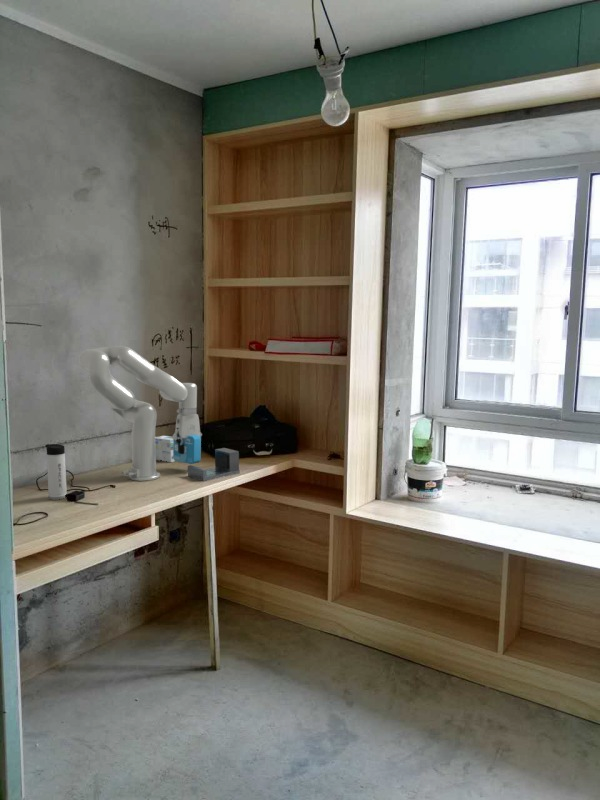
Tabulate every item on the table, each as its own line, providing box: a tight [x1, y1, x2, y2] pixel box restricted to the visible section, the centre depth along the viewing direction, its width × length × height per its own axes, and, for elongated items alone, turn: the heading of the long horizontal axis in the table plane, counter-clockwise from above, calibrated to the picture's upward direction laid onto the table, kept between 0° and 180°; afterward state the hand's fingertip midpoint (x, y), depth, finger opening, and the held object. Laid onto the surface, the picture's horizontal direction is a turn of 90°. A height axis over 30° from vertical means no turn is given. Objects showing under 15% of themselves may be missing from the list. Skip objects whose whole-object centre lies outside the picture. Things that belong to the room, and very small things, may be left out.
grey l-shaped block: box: [187, 447, 241, 482], centre depth 268 cm, size 19×11×10 cm, turn 135°
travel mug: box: [44, 443, 68, 501], centre depth 232 cm, size 6×7×20 cm
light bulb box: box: [155, 435, 176, 463], centre depth 295 cm, size 11×7×11 cm, turn 58°
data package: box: [173, 435, 202, 465], centre depth 275 cm, size 12×4×12 cm, turn 58°
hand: (186, 452), depth 275 cm, fingers closed on data package, 5 cm apart
